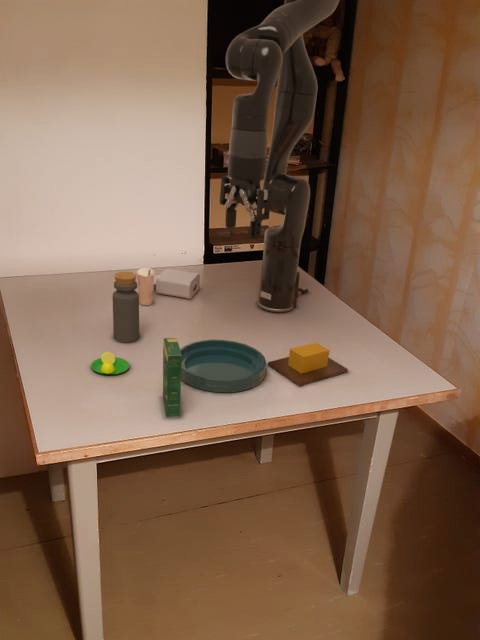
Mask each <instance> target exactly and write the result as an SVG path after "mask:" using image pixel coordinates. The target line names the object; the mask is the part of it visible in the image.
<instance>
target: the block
mask: <svg viewBox="0 0 480 640" xmlns="http://www.w3.org/2000/svg"><path fill="white" fill-rule="evenodd" d="M288 353H289V354H288V357H289V361H288V365H289V366H290V367H292V368H293V369H295V370H296V371H298V372H299V373H301V374H302V373H306V372H309V371H313V370H316V369H320V368H323V367H327V363H328V357H329V356H330V349H328V348H327V347H325V346H323V345H322V344H320V343H319V342H315V341H314V342H312V343H308V344H303V345H300V346H299V345H298V346H296V347H292V348H289V352H288ZM329 358H330V357H329Z"/></svg>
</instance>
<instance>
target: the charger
mask: <svg viewBox="0 0 480 640" xmlns="http://www.w3.org/2000/svg"><path fill="white" fill-rule="evenodd" d="M200 281H201V274H200V273H198V272H192V271H186V270H178V269H174V268H166V269H164V270H163V271H162V272H160V273H159V274H156V273H155V279H154V286H155V292H156V293H157V294H158V295H164V296H171V297H177V298H183V299H188V300H191V299H192V298H193V297H194V296H195V294H196V293H197V292H198V291H199V289H200Z"/></svg>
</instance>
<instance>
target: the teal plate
mask: <svg viewBox="0 0 480 640" xmlns="http://www.w3.org/2000/svg"><path fill="white" fill-rule="evenodd" d="M180 351H181V354H182V368H181V382H184V383H185V384H186V385H189V386H191V387H193V388H195V389H198V390H202V391H207V392H213V393H237V392H244V391H247V390H250V389H253V388H255V387H256V386H259V385H260V384H261V383H262V382H263V381H264V379H265V375H266V370H267V369H266V368H267V360H266V357H265V356H264V355H263V354H262V352H260V351H259V350H258V349H256V348H254V347H253V346H250V345H248V344H246V343H242V342H238V341H235V340H229V339H204V340H202V339H201V340H198V341H194V342H190V343H187V344H186V345H183V346H182V347H181V348H180Z"/></svg>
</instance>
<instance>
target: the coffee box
mask: <svg viewBox="0 0 480 640" xmlns="http://www.w3.org/2000/svg"><path fill="white" fill-rule="evenodd" d="M162 342H163V343H162V401H163V406H164V413H165V418H166V419H167V418H168V419H174V418H179V417H181V395H182V393H181V392H182V389H181V388H182V380H181V368H182V354H181V351H180V349H181V348H180V344H179V341H178V338H177V337H165V338H163V339H162Z"/></svg>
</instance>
